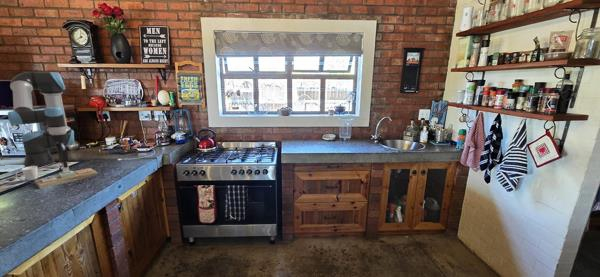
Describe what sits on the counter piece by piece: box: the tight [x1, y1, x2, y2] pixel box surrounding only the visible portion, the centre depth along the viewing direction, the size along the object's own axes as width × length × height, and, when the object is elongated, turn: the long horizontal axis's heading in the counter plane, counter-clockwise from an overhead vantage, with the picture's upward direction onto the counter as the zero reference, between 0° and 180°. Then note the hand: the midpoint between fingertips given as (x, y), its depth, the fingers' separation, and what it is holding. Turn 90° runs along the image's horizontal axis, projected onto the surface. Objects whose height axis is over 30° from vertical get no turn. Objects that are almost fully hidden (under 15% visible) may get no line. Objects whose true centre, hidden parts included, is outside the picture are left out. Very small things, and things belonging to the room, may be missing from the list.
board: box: [33, 167, 99, 190], centre depth 151 cm, size 13×26×2 cm, turn 145°
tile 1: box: [39, 175, 57, 183], centre depth 145 cm, size 6×6×3 cm
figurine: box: [118, 138, 137, 156], centre depth 209 cm, size 10×10×12 cm
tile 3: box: [75, 168, 91, 175], centre depth 158 cm, size 6×6×3 cm
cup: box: [15, 166, 39, 182], centre depth 148 cm, size 7×10×8 cm
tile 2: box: [57, 170, 75, 179], centre depth 151 cm, size 6×6×3 cm
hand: (66, 172), depth 150 cm, fingers closed
